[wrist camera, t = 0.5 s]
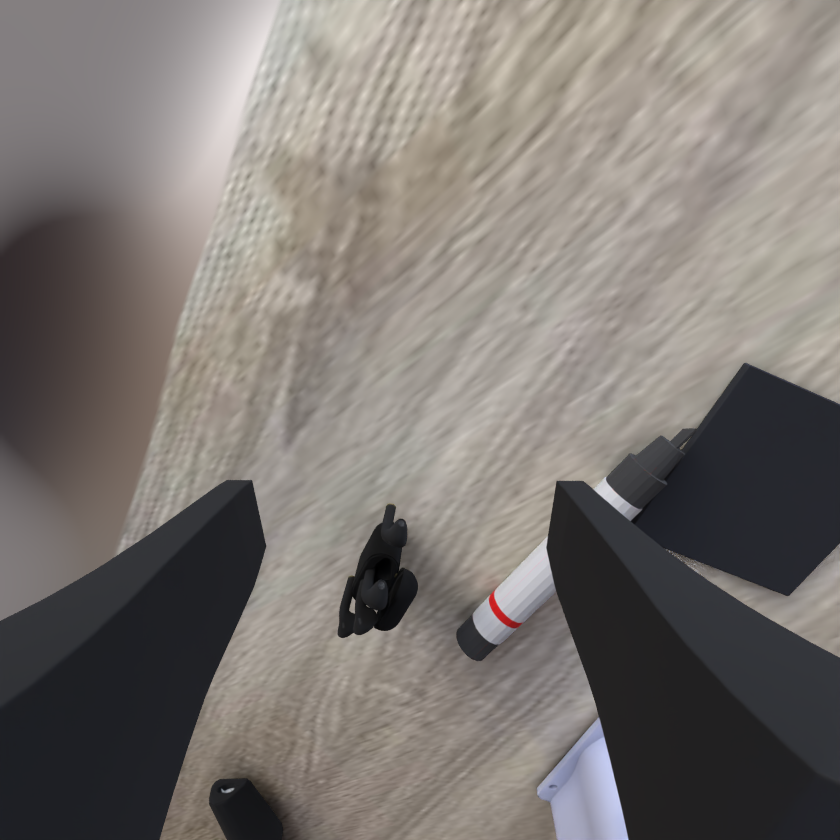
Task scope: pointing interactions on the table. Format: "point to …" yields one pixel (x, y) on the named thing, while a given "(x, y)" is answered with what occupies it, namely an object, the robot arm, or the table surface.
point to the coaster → (755, 484)
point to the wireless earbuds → (379, 582)
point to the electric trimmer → (243, 811)
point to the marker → (533, 576)
